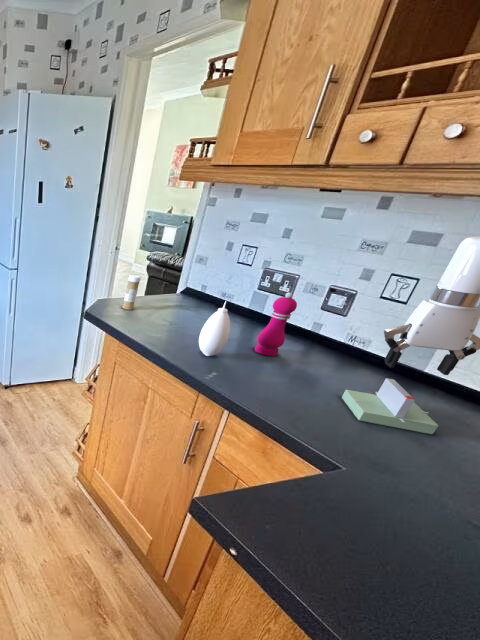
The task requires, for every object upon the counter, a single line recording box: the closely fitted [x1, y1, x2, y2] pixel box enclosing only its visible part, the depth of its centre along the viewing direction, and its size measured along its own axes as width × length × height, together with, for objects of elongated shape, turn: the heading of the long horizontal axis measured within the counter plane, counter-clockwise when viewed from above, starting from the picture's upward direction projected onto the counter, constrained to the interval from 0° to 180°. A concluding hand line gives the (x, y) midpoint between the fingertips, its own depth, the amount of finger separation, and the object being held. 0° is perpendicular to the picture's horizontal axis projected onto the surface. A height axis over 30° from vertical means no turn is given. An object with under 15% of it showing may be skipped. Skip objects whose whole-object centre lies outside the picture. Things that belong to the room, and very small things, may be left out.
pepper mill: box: [254, 291, 298, 357], centre depth 131 cm, size 7×7×20 cm
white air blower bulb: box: [198, 300, 231, 357], centre depth 128 cm, size 8×8×18 cm
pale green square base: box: [341, 389, 439, 435], centre depth 103 cm, size 15×15×3 cm
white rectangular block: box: [375, 377, 416, 418], centre depth 101 cm, size 11×2×5 cm, turn 157°
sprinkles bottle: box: [122, 274, 142, 310], centre depth 169 cm, size 5×5×14 cm
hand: (415, 369), depth 97 cm, fingers open, 9 cm apart
